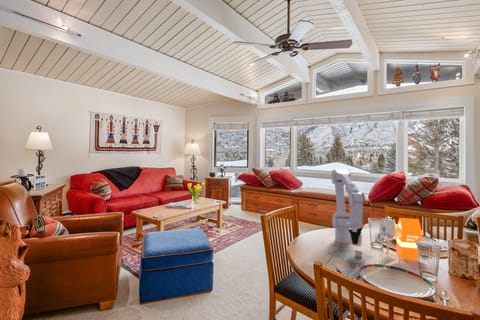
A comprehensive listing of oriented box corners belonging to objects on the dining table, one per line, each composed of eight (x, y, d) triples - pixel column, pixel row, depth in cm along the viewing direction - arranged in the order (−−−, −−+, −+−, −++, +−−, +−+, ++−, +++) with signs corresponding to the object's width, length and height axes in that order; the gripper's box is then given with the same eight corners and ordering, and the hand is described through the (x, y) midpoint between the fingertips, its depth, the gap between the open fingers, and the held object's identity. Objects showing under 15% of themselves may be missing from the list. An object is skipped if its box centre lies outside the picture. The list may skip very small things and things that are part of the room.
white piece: (350, 241, 126) (350, 231, 125) (361, 243, 123) (361, 233, 123) (348, 244, 121) (349, 234, 121) (360, 246, 118) (360, 236, 118)
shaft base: (344, 248, 134) (344, 241, 134) (373, 259, 121) (373, 250, 121) (326, 254, 125) (326, 246, 125) (354, 266, 112) (355, 258, 112)
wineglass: (393, 254, 127) (394, 217, 126) (398, 260, 119) (399, 220, 119) (377, 252, 129) (378, 215, 129) (380, 258, 122) (381, 219, 122)
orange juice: (421, 260, 119) (422, 221, 119) (401, 258, 122) (402, 219, 121) (415, 254, 127) (415, 217, 126) (396, 252, 129) (396, 215, 129)
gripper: (349, 212, 130) (349, 236, 130) (345, 217, 117) (345, 245, 118) (363, 213, 126) (363, 239, 126) (361, 219, 114) (361, 248, 114)
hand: (355, 242), depth 122 cm, fingers closed on white piece, 5 cm apart
